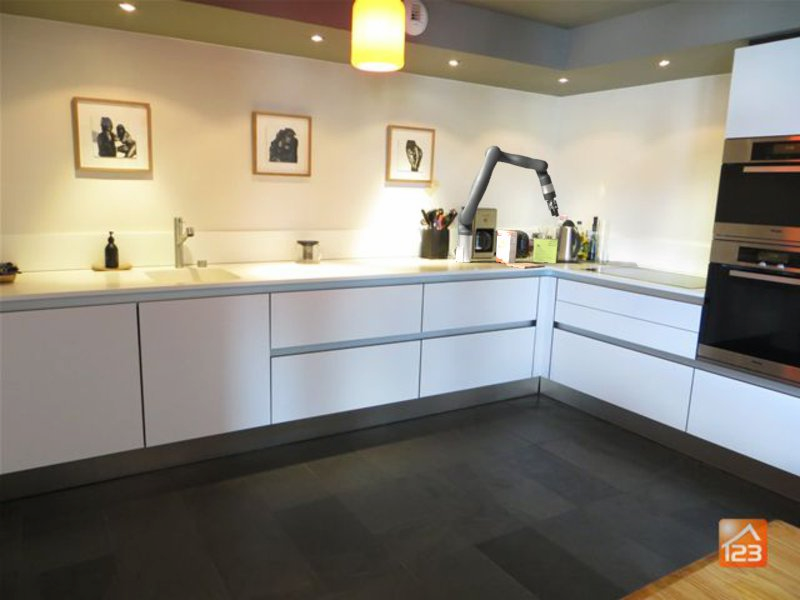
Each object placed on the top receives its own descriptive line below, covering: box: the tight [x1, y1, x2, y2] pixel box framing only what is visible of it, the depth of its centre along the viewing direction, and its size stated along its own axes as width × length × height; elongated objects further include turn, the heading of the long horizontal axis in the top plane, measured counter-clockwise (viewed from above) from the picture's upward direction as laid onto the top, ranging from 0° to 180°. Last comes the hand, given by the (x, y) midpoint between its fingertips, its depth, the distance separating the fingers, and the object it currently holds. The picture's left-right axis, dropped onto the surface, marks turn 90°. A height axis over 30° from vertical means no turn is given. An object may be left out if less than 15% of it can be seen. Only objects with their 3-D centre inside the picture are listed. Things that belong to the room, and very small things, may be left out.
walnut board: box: [505, 262, 545, 269], centre depth 361 cm, size 20×14×1 cm
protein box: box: [532, 237, 559, 264], centre depth 392 cm, size 10×15×16 cm
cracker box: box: [495, 229, 518, 265], centre depth 373 cm, size 14×6×21 cm, turn 25°
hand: (555, 216), depth 368 cm, fingers open, 8 cm apart
